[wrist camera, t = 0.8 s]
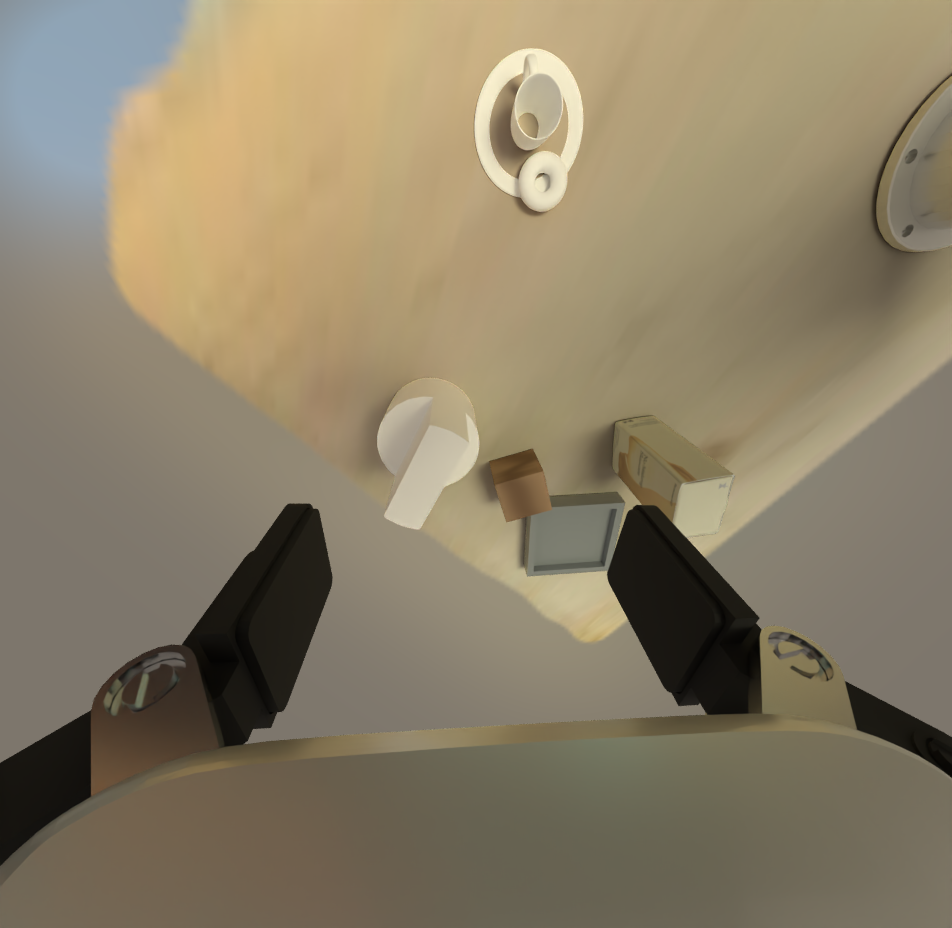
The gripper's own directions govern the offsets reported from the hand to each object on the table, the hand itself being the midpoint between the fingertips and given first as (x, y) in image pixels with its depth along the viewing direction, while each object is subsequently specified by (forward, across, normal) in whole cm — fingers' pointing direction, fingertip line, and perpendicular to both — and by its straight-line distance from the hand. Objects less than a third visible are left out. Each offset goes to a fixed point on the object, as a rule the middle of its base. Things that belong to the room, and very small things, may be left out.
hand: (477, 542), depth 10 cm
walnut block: (+25, -7, +12) cm, 29 cm away
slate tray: (+25, -15, +21) cm, 36 cm away
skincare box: (+25, -20, +8) cm, 33 cm away
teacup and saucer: (+26, -3, -14) cm, 30 cm away
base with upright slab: (+25, +2, +6) cm, 26 cm away
